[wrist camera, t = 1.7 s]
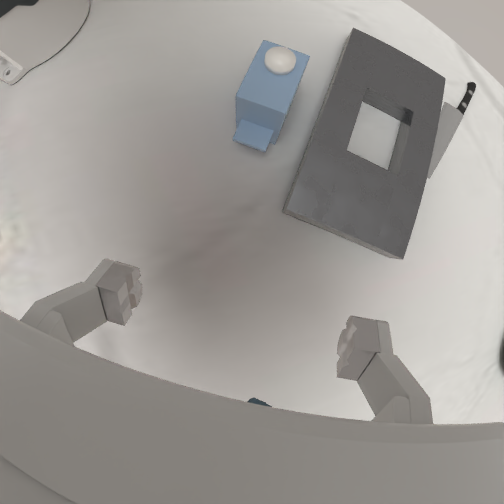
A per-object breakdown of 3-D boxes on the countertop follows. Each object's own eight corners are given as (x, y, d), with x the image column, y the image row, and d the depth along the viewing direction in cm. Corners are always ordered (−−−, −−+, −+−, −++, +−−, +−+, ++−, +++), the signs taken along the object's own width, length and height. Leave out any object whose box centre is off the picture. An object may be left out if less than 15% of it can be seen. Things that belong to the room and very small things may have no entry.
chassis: (282, 212, 30) (286, 209, 27) (345, 41, 30) (353, 27, 27) (389, 257, 31) (402, 259, 28) (433, 87, 31) (445, 78, 28)
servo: (228, 148, 30) (224, 114, 21) (265, 68, 30) (272, 19, 21) (267, 162, 30) (277, 133, 21) (300, 81, 30) (318, 35, 21)
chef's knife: (403, 170, 31) (423, 188, 31) (407, 168, 30) (428, 186, 30) (458, 72, 31) (474, 87, 31) (462, 69, 30) (478, 84, 30)
